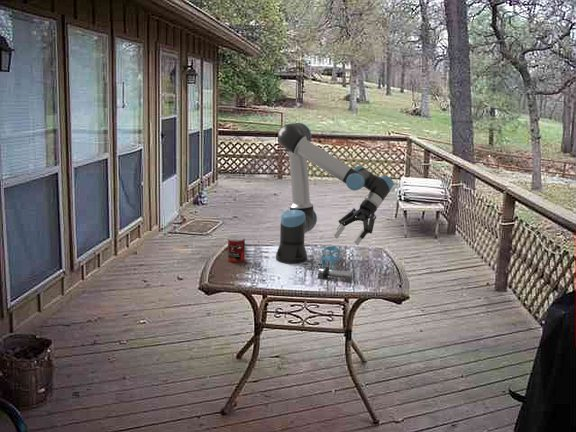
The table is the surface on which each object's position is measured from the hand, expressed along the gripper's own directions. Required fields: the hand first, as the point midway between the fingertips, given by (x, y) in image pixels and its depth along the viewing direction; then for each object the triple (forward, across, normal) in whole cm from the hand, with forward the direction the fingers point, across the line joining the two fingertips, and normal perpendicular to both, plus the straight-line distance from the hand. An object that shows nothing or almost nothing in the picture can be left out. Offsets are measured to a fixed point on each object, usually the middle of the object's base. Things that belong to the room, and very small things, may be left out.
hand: (345, 239), depth 283 cm
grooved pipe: (+19, -7, -1) cm, 20 cm away
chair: (+16, +1, -5) cm, 17 cm away
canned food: (+34, +39, +13) cm, 53 cm away
